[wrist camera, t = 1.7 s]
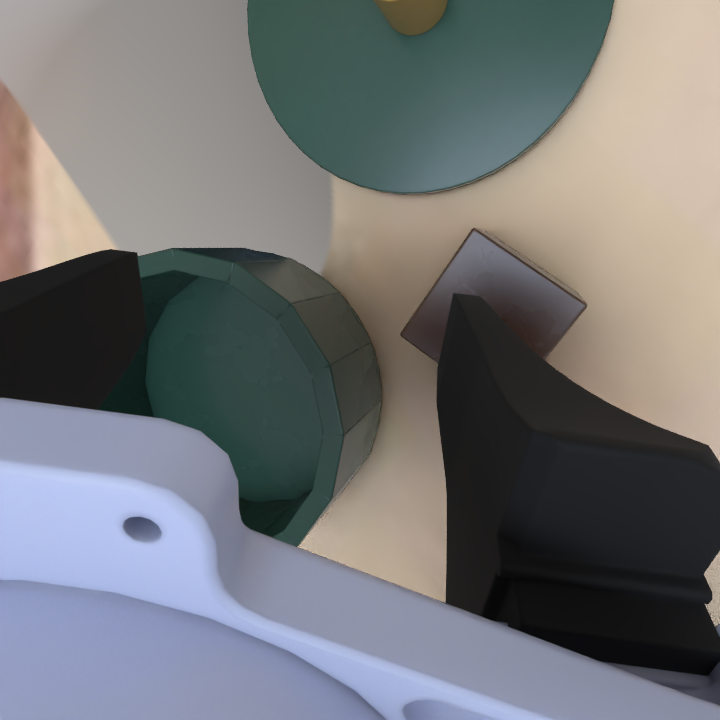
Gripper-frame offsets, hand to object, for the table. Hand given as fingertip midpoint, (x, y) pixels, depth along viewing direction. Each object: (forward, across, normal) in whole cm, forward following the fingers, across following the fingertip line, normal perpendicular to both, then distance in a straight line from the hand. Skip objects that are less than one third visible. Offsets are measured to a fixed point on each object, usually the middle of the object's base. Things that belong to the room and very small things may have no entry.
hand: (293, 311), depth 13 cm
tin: (+10, +3, +10) cm, 15 cm away
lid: (+14, -2, -6) cm, 15 cm away
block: (+10, -7, +4) cm, 12 cm away
